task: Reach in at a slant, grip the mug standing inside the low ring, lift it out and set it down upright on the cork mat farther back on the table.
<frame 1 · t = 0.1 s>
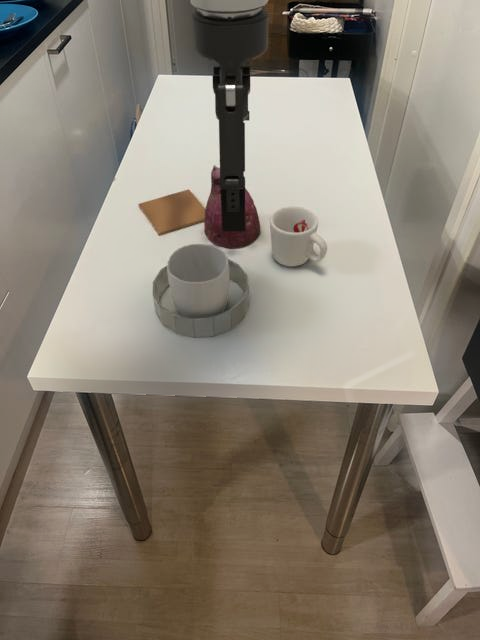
hand: (234, 198, 63), 21 cm above the table, tool pointing down, fingers open, 13 cm apart
ring: (202, 302, 80), on the table
mug: (202, 303, 80), resting in ring
vegetable: (232, 232, 93), on the table
mat: (174, 212, 97), on the table
cup: (297, 261, 87), on the table
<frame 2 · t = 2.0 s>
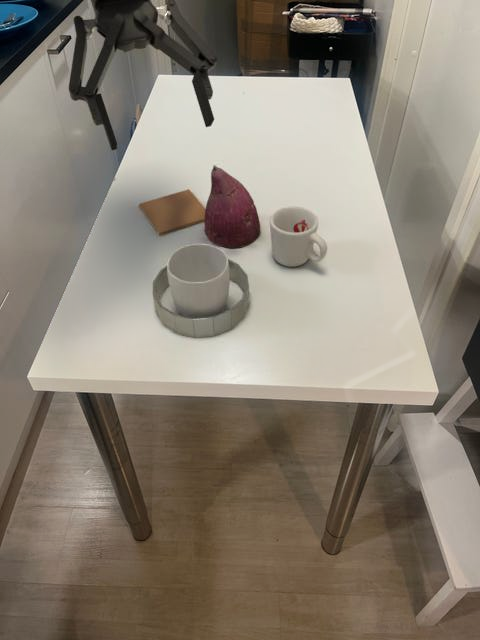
hand: (163, 135, 67), 24 cm above the table, tool tilted 45°, fingers open, 13 cm apart
nothing on the table moved.
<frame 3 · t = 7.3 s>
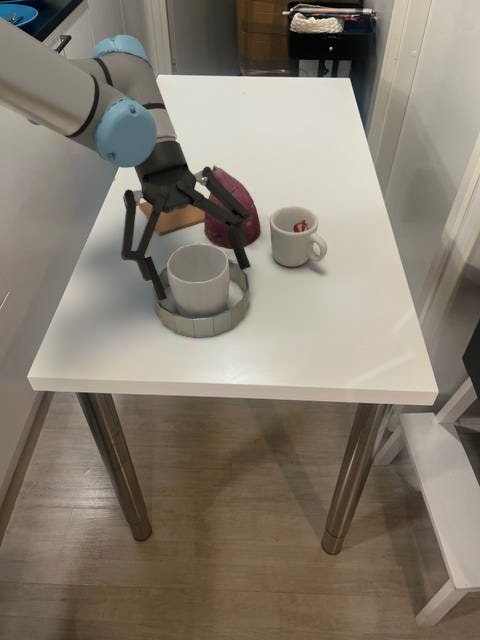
hand: (206, 284, 75), 5 cm above the table, tool tilted 45°, fingers open, 13 cm apart
nothing on the table moved.
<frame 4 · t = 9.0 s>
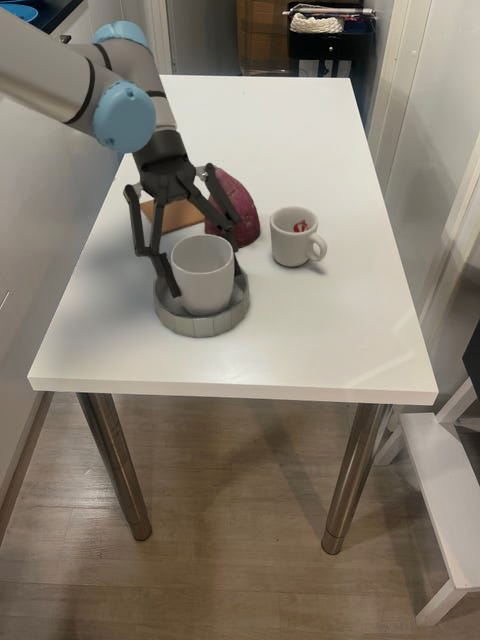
hand: (207, 286, 73), 6 cm above the table, tool tilted 45°, fingers closed on mug, 9 cm apart
mug: (205, 295, 78), point 2 cm above the table, touching gripper
everything else where it was.
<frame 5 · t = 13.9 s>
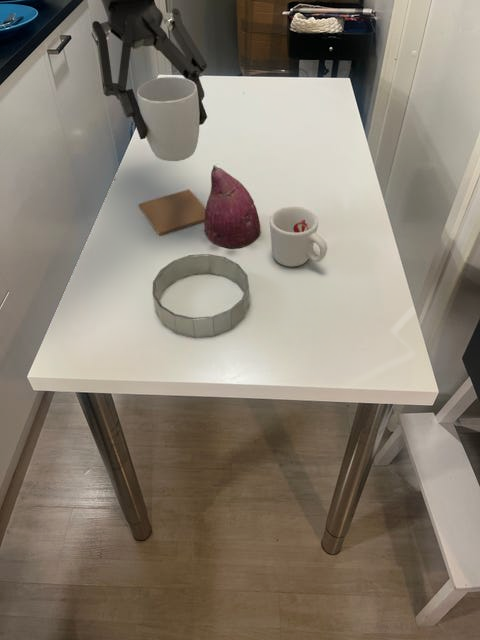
hand: (174, 128, 76), 21 cm above the table, tool tilted 45°, fingers closed on mug, 9 cm apart
mug: (175, 147, 82), point 16 cm above the table, touching gripper
everything else where it was.
when the fingers open (5 cm above the table, at t = 19.3 s): mug stays where it is, resting on mat.
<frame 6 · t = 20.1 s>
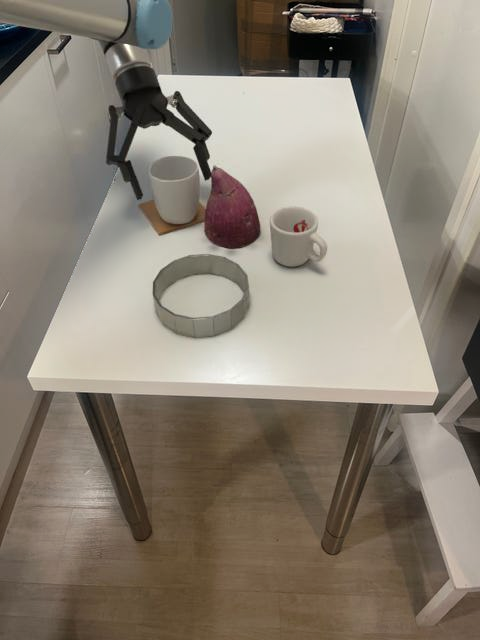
hand: (175, 188, 91), 7 cm above the table, tool tilted 45°, fingers open, 13 cm apart
mug: (178, 210, 97), resting on mat
everything else where it was.
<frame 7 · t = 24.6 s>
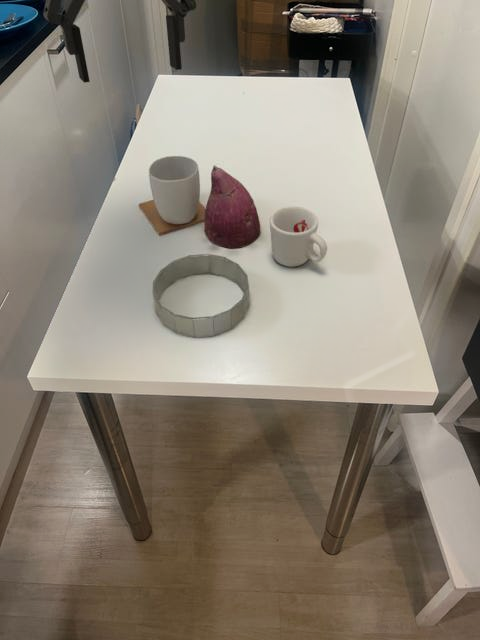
hand: (131, 73, 71), 29 cm above the table, tool pointing down, fingers open, 13 cm apart
nothing on the table moved.
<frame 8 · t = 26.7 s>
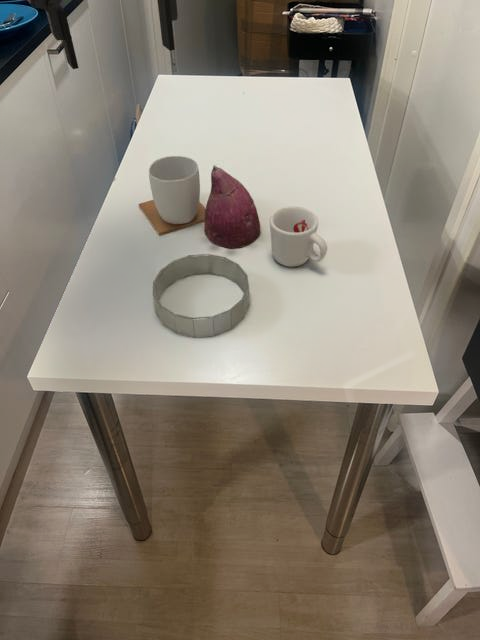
hand: (122, 56, 68), 32 cm above the table, tool pointing down, fingers open, 13 cm apart
nothing on the table moved.
at the end: mug inside the target area on the mat (0.9 cm from its centre), point 0.4 cm above the mat's base; mug tilted 0°; the gripper is holding nothing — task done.
